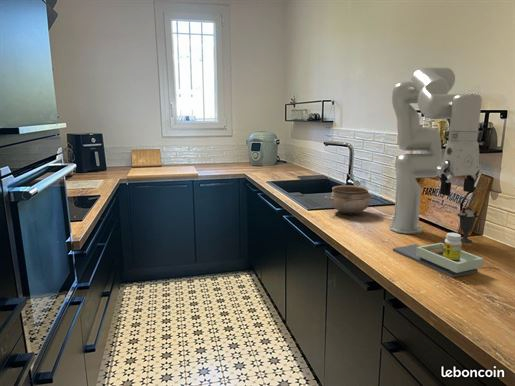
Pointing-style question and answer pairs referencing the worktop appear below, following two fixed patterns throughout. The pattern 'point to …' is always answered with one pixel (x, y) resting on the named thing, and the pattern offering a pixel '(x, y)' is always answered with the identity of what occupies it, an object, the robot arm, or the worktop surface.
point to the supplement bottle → (452, 247)
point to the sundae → (466, 222)
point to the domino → (437, 251)
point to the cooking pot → (350, 199)
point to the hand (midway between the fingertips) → (456, 193)
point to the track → (411, 253)
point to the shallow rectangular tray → (464, 264)
